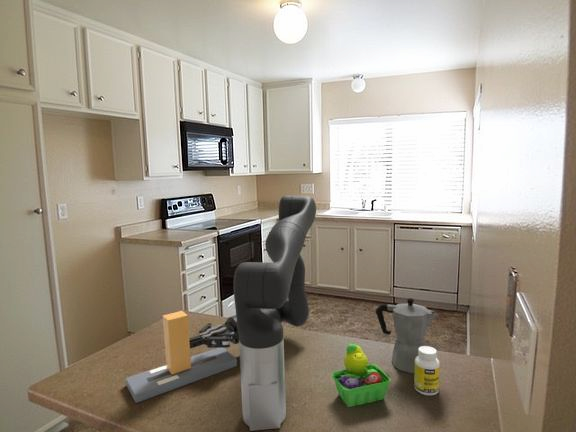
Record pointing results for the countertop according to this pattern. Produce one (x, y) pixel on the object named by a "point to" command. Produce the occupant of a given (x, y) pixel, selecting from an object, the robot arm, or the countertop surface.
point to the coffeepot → (406, 331)
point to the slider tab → (177, 342)
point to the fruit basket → (360, 379)
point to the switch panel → (179, 374)
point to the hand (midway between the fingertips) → (187, 344)
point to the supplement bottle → (427, 371)
